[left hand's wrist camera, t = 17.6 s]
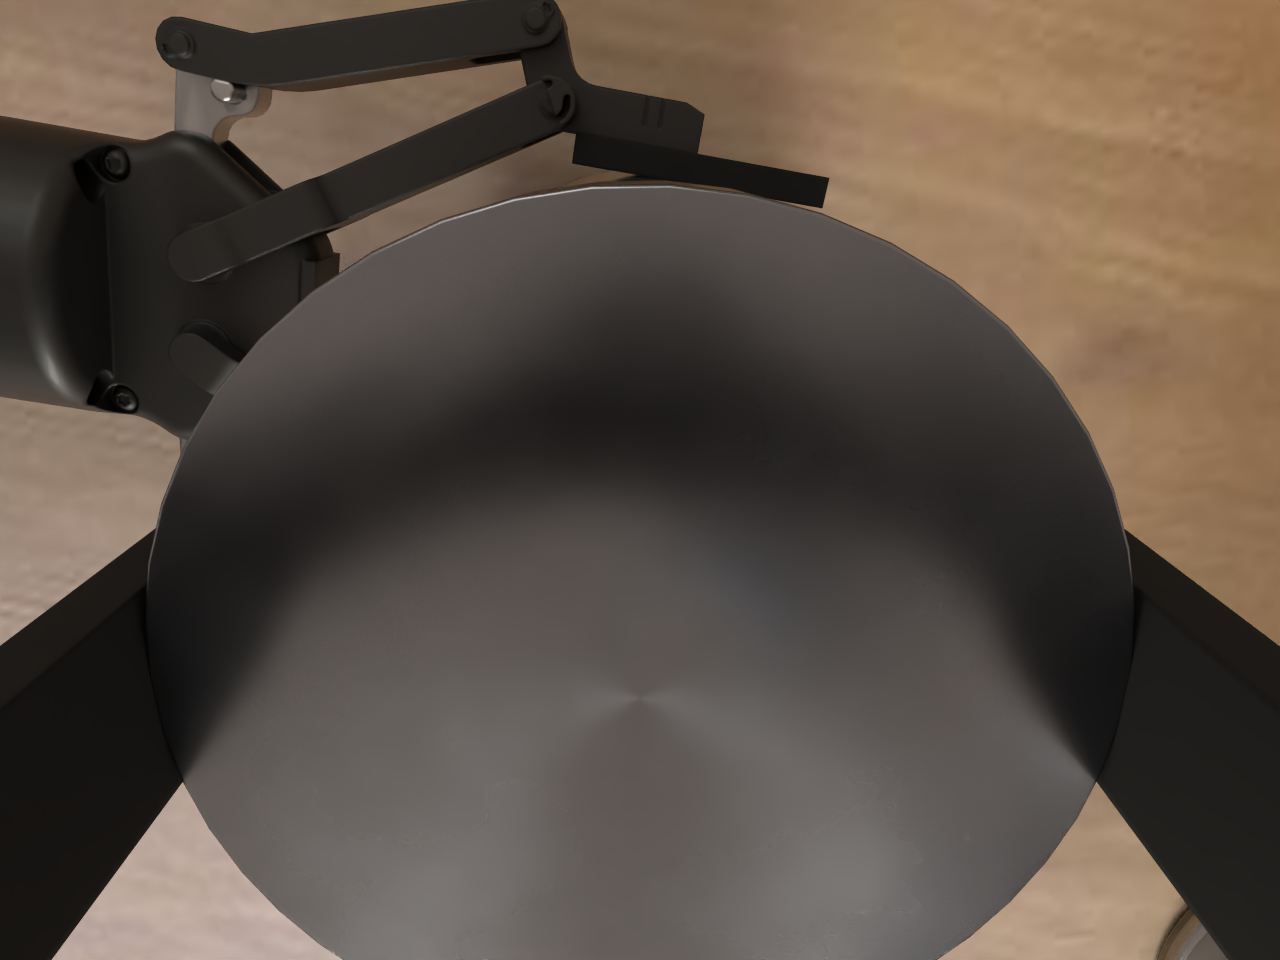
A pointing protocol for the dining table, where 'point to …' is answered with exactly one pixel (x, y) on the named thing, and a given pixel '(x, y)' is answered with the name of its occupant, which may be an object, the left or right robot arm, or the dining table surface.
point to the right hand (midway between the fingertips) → (770, 386)
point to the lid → (639, 593)
